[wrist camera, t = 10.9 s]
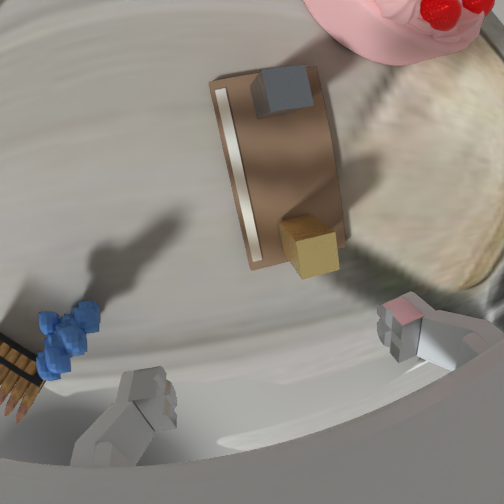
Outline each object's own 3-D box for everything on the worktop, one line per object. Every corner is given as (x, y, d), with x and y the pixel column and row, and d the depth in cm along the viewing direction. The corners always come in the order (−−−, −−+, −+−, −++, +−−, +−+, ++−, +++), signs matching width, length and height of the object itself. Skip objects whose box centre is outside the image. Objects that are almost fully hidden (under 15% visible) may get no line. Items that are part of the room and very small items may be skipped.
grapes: (85, 258, 31) (38, 309, 20) (126, 299, 33) (98, 364, 22) (39, 313, 32) (-3, 369, 21) (75, 348, 35) (45, 410, 24)
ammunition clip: (52, 364, 35) (23, 423, 24) (51, 372, 36) (23, 429, 24) (-4, 329, 32) (-43, 377, 21) (-5, 338, 33) (-42, 386, 21)
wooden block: (278, 221, 31) (295, 241, 25) (310, 214, 32) (335, 231, 25) (283, 253, 33) (302, 279, 26) (315, 245, 33) (339, 269, 26)
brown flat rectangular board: (208, 84, 27) (208, 81, 26) (313, 68, 28) (316, 66, 27) (249, 267, 34) (251, 271, 33) (342, 243, 35) (346, 247, 34)
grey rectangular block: (249, 86, 27) (261, 69, 20) (283, 81, 27) (304, 64, 21) (256, 119, 28) (270, 111, 22) (291, 113, 28) (314, 105, 22)
